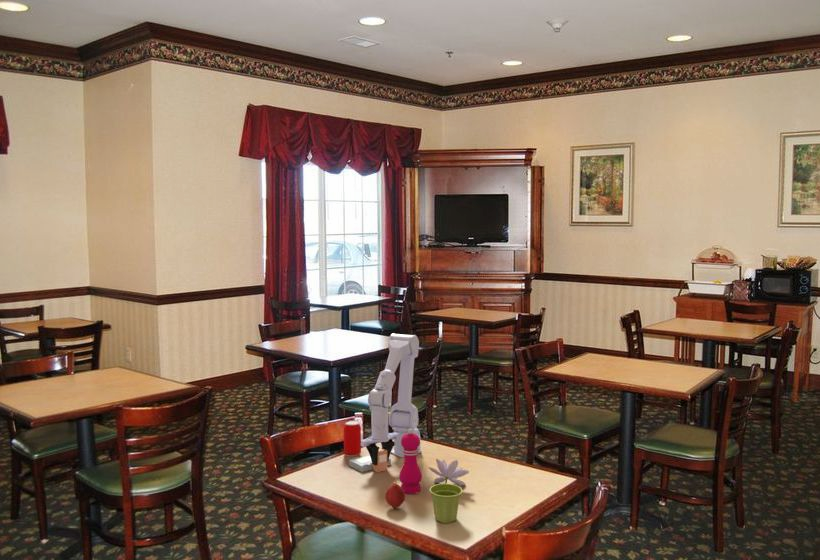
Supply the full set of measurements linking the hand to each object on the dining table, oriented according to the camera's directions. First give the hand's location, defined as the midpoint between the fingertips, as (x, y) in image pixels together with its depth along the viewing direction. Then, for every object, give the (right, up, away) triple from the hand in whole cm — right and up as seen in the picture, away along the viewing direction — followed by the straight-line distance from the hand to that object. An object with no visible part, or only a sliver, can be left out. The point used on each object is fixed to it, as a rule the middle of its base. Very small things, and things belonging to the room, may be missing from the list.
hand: (380, 463), depth 238 cm
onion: (+6, -5, -32) cm, 33 cm away
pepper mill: (+10, -4, -18) cm, 21 cm away
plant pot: (+21, -6, -39) cm, 45 cm away
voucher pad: (-4, -2, +5) cm, 6 cm away
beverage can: (-11, -1, +16) cm, 19 cm away
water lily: (+23, -4, -15) cm, 28 cm away
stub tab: (0, -2, 0) cm, 2 cm away
